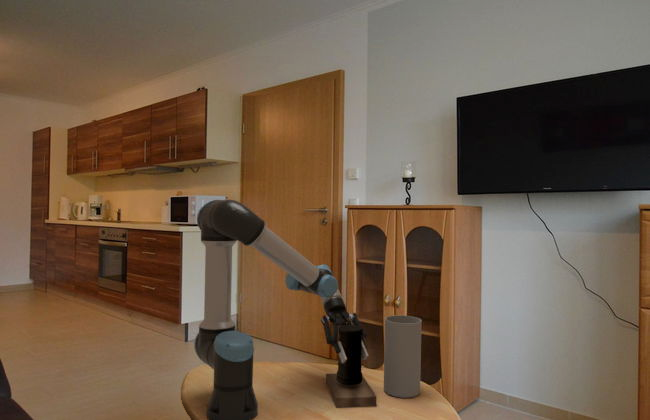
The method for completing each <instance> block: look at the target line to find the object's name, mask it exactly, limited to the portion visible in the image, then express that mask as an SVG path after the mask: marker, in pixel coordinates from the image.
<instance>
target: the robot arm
mask: <svg viewBox="0 0 650 420" xmlns="http://www.w3.org/2000/svg"><path fill="white" fill-rule="evenodd" d="M196 223H197V224H196V225H197V226H198V228H199V230H200V242H201V243H202V245H204V247H205V250H204V251H205V253H204V254H205V255H204V256H205V257H204V258H205V260H204V261H205V262H204V263H205V265H204V267H205V268H204V306H203V307H204V308H203V310H204V312H203V320H202V321H201V322H200V323H199V325H198V328H199V329H198V333H197V334H196V336H195V338H194V344H193V345H194V350H195V353H196V356H197V357H198V358H199V360H200V361H202V362H203V363H205V364H206V365H208V366H209V367H210V368H211V369H212V370H213V387H212V391H211V395H210V398H209V401H208V403H207V407H206V417H207V419H208V420H252V419H254V418H256V417H257V415H258V414H259V412H258V411H259V404H258V400H257V398H256V394H255V391H254V390H255V389H254V386H253V385H254V384H253V383H254V382H253V380H254V378H253V377H254V353H255V346H254V340H253V338H252V336H251V335H250V334H248V333H246V332H244V331H241V332H240V331H239V330H236V322H235V321H234V320H233V319H232V283H233V281H232V279H233V277H232V276H233V274H232V272H233V271H232V270H233V247H234V245H236V243H237V242H240V243H241V244H243V245H244V246H246V247H250V246H251V247H252V248H254V249H255V250H256V251H258V252H259V253H260V254H261V255H263V256H265V258H267V259H268V260H270V261H271V262H272V263H273V264H275V265H276V266H278V267H279V268H280V269H281V270H283V271H284V272H286V275H285V286H286V288H287V289H288V290H291V291H301V292H302V291H303V292H305V293H309V294H313V295H315V296H319V298H320V300H321V303H322V306H323V309H324V312H325V315H323V316H322V317H321V319H320V322H321V324H322V325H323V331H324V336H325V341H326V344H327V345H331V347H332V348H334V351H335V353H336V354H338V358H339V357H340V359H341V362H342V363H344V362H345V361H346V360H347V358H346V355H345V352H344V350H343V347H342V344H341V342H340V341H339V330H338V328H339V327H340V326H342V325H355V326H360V327H362V328H363V326H362V323H361V322H360V321H359V319H358V315H357V313H356V312H353V313H349V312H348V311H347V307H346V304H345V302H344V299H343V296H342V294H341V291H340V289H339V281H338V279H337V278H336V277H335V276H334V274H333V272H332V271H331V269H330V267H329V266H328V265H327V264H321V265H314V264H313V263H312V262H311V261H310V260H309V259H307V257H305V256H303V255H302V254H301V253H300V252H298V251H297V250H296V249H295V248H294V247H292V246H291V245H290V244H288V243H287V242H286V241H285V240H283V239H282V238H281V237H279V235H277V234H276V233H274V232H273V231H272V230H271V229H270V228H268V227H267V226H266V221H264V219H262V218H261V217H260V216H259V215H257V214H256V213H255V212H254V211H252V210H251V208H248V206H246V205H245V204H243V203H242V202H240V201H238V200H234V199H214V200H210V201H208V202H205V204H203V205H202V206H201V207H200V208H199V209H198V212H197V215H196ZM330 323H331V326H330ZM331 328H332V329H331ZM367 337H368V334H367V332H366V331H365V329H364V328H363V332H362V336H361V339H362V348H361V359H362V360H363V361H366V360H367V358H368V357H369V353H368V350H367V345H366V341H365V339H366V338H367Z"/></svg>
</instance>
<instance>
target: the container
mask: <svg viewBox="0 0 650 420" xmlns="http://www.w3.org/2000/svg"><path fill="white" fill-rule="evenodd" d="M362 327H363V326H362ZM362 327H360V326H355V325H342V326H338V342H339V341H340V342H341V344H342V347H343V350H344V352H345V355H346V358H347V360H346V361H345V362H344V363H342V362H341V359H340V357H339V356H338V362H337V370H336V374H337V376H336V379H337V381H338V382H339V383H341V384H345V385H357V384H360V383H361V382H362V380H363V378H362V375H363V372H362V366H363V365H362V355H361V348H362V339H361V336H362V332H363V329H364V328H362Z"/></svg>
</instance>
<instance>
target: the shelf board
mask: <svg viewBox="0 0 650 420" xmlns="http://www.w3.org/2000/svg"><path fill="white" fill-rule="evenodd" d="M336 376H337V373H325V383H326V384H325V385H326V386H327V388H328V391H329V394H330V396H331V399H332V400H333V403H334V406H335V408H336V409H340V408H360V407H362V408H365V407H367V408H369V407H377V395H376V393H374V391H373V388H372V387H371V385H370V384H369V382H368V381H367V380H366V379H365V377H364V375H363V374H362V378H363V380H362V382H361V383H360V384H357V385H345V384H341V383H339V382H338V381H337V379H336Z"/></svg>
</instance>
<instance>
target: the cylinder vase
mask: <svg viewBox="0 0 650 420" xmlns="http://www.w3.org/2000/svg"><path fill="white" fill-rule="evenodd" d="M422 321H423V320H422V319H421V318H419V317H415V316H411V315H404V314H403V315H400V314H399V315H397V314H396V315H389V316H385V318H384V351H383V353H384V354H383V355H384V357H383V359H384V360H383V390H384V392H385V393H386V394H387V395H389V396H392V397H395V398H401V399H410V398H411V399H412V398H414V397H415V398H416V397H417V396H418V395H420V393H421V376H422V375H421V374H422V372H421V371H422V370H421V366H422V365H421V364H422V361H421V360H422V326H423V325H422Z"/></svg>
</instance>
